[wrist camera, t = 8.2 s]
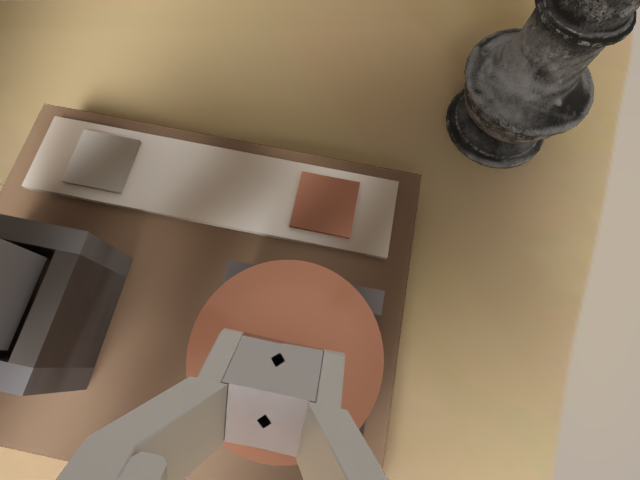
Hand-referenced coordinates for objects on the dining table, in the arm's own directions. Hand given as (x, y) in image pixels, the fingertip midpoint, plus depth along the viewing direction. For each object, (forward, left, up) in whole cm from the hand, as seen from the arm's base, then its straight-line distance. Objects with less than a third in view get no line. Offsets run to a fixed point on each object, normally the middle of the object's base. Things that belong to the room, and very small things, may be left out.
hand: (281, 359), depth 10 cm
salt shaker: (+8, +14, -8) cm, 18 cm away
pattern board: (-5, +2, -8) cm, 10 cm away
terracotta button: (0, 0, -6) cm, 6 cm away
